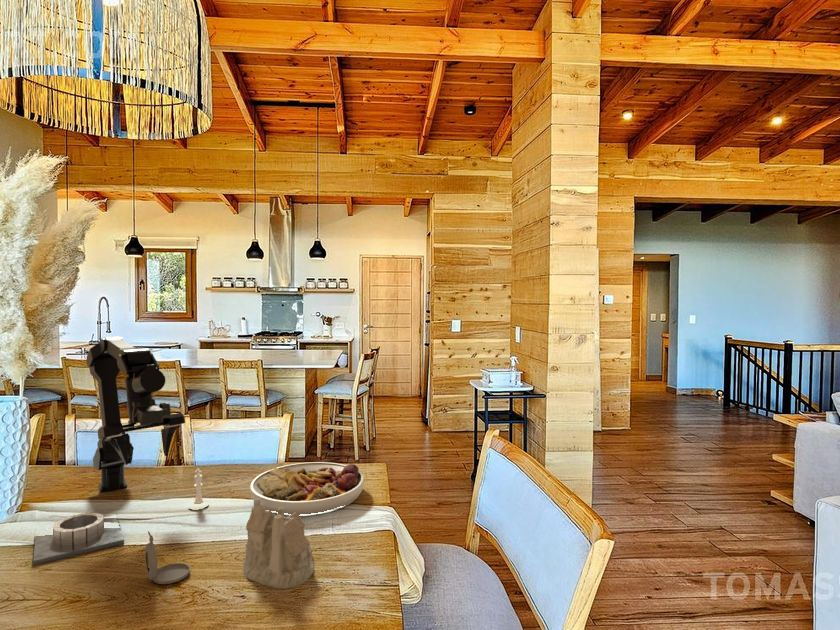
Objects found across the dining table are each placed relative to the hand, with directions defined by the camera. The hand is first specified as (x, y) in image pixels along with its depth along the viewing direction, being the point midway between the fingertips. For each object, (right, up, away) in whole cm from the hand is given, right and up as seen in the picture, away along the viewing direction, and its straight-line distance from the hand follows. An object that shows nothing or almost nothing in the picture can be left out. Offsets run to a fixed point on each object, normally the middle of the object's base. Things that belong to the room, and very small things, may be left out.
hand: (146, 460), depth 128 cm
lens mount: (-9, -14, -13) cm, 21 cm away
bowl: (+37, -14, +13) cm, 42 cm away
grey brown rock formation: (+40, -15, -22) cm, 48 cm away
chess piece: (+10, -14, +6) cm, 18 cm away
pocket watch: (+18, -15, -28) cm, 37 cm away
